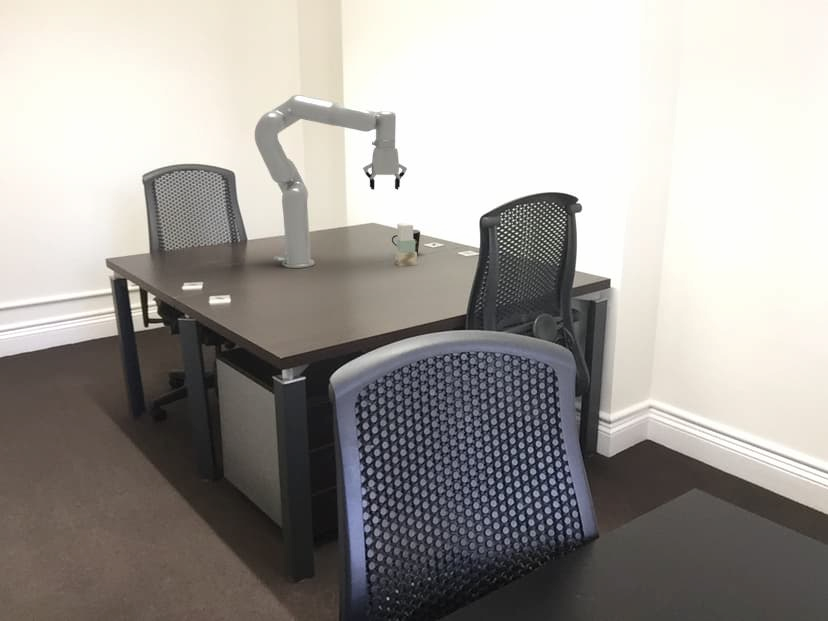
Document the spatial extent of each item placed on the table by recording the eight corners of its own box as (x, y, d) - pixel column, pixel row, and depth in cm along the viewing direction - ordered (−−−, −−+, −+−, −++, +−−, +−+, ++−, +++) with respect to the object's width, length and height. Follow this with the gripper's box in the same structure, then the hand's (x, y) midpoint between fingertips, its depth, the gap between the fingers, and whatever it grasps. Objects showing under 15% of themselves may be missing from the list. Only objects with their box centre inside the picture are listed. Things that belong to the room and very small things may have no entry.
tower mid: (400, 253, 287) (400, 241, 285) (396, 250, 292) (396, 238, 291) (415, 252, 288) (415, 240, 287) (411, 249, 294) (411, 237, 292)
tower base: (400, 266, 287) (399, 254, 286) (395, 262, 294) (395, 250, 292) (417, 265, 289) (416, 252, 288) (412, 261, 295) (412, 249, 294)
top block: (400, 241, 285) (400, 225, 283) (397, 238, 290) (397, 223, 288) (413, 240, 286) (413, 225, 285) (409, 237, 291) (409, 223, 289)
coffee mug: (421, 252, 310) (421, 229, 308) (419, 257, 302) (419, 233, 299) (394, 252, 312) (393, 229, 309) (391, 256, 303) (391, 233, 300)
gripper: (365, 145, 275) (364, 190, 280) (409, 145, 280) (408, 190, 285) (361, 143, 282) (361, 188, 287) (404, 144, 287) (403, 187, 291)
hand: (384, 189), depth 286 cm, fingers open, 9 cm apart
